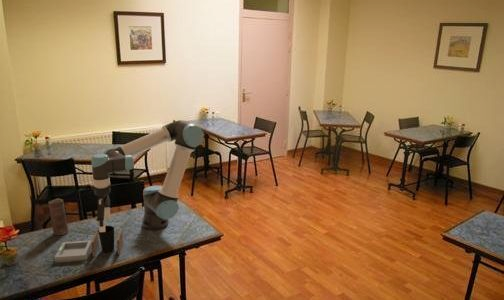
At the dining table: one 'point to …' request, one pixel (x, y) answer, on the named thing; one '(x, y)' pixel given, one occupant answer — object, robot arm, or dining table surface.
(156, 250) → the dining table surface
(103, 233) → the cup
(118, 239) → the beige holder
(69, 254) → the dock
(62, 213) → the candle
